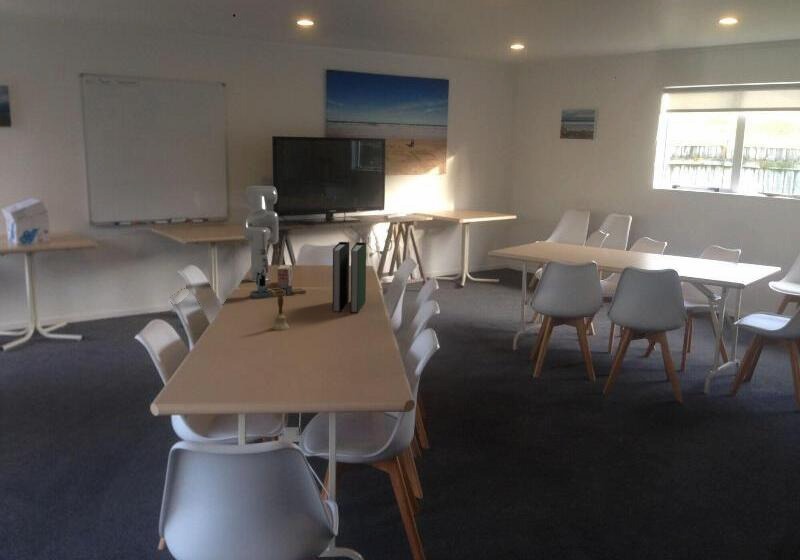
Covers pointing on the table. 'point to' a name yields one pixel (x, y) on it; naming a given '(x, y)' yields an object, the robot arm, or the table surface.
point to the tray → (257, 296)
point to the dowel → (260, 287)
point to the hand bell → (280, 317)
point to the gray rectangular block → (287, 288)
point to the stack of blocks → (284, 275)
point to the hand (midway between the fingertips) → (260, 284)
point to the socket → (277, 291)
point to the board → (298, 291)
